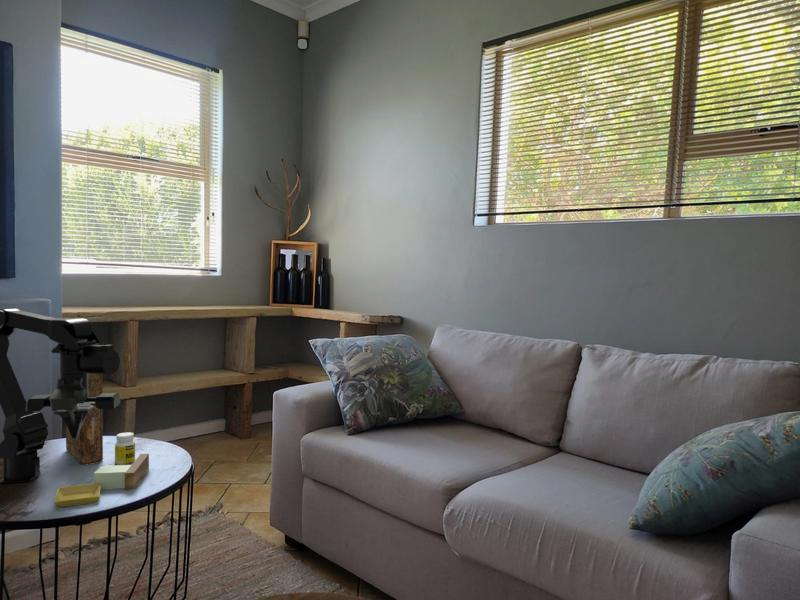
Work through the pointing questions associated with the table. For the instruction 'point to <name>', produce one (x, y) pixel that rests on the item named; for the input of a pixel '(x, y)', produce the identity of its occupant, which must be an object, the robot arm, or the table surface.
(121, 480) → the block
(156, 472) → the table surface
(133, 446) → the supplement bottle
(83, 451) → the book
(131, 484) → the board
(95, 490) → the yellow tray
